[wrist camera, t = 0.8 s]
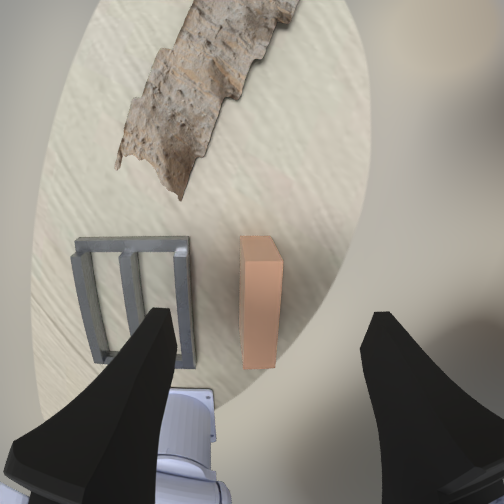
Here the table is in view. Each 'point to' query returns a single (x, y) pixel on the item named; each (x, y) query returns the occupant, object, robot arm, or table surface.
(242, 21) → the stone fragment
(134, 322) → the drying rack
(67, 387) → the table surface
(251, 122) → the table surface
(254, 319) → the terracotta strip
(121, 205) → the table surface
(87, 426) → the robot arm
